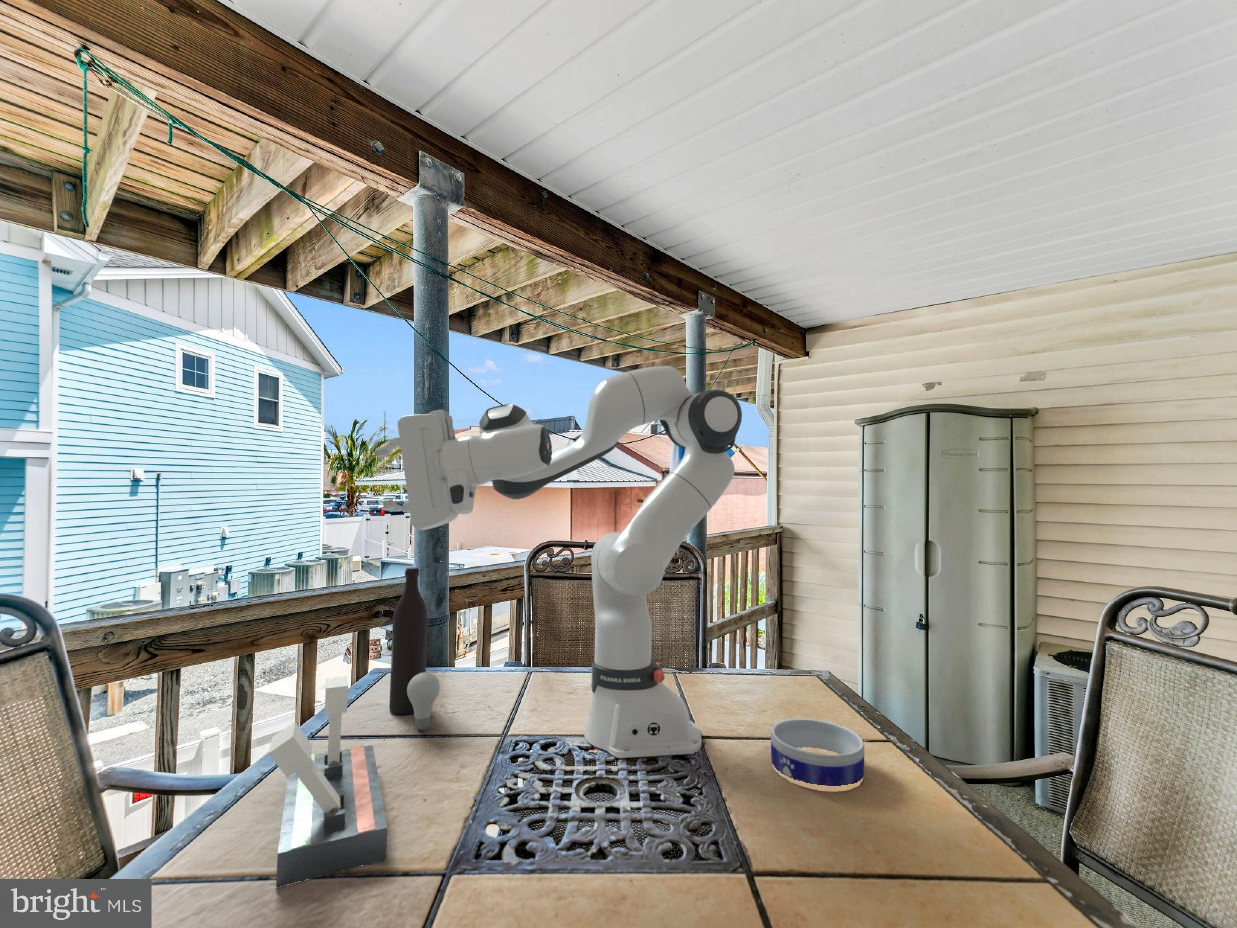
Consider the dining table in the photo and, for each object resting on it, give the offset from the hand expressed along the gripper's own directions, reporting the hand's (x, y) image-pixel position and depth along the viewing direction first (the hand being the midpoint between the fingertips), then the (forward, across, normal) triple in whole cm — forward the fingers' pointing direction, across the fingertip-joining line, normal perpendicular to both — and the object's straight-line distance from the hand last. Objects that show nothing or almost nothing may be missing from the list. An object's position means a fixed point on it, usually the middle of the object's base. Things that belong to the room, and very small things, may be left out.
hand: (380, 479), depth 99 cm
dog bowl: (-64, +64, +8) cm, 91 cm away
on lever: (+6, +46, -16) cm, 49 cm away
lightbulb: (+6, +46, +21) cm, 51 cm away
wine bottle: (+13, +43, +31) cm, 55 cm away
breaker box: (+10, +49, -9) cm, 51 cm away
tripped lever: (+12, +43, -3) cm, 45 cm away
